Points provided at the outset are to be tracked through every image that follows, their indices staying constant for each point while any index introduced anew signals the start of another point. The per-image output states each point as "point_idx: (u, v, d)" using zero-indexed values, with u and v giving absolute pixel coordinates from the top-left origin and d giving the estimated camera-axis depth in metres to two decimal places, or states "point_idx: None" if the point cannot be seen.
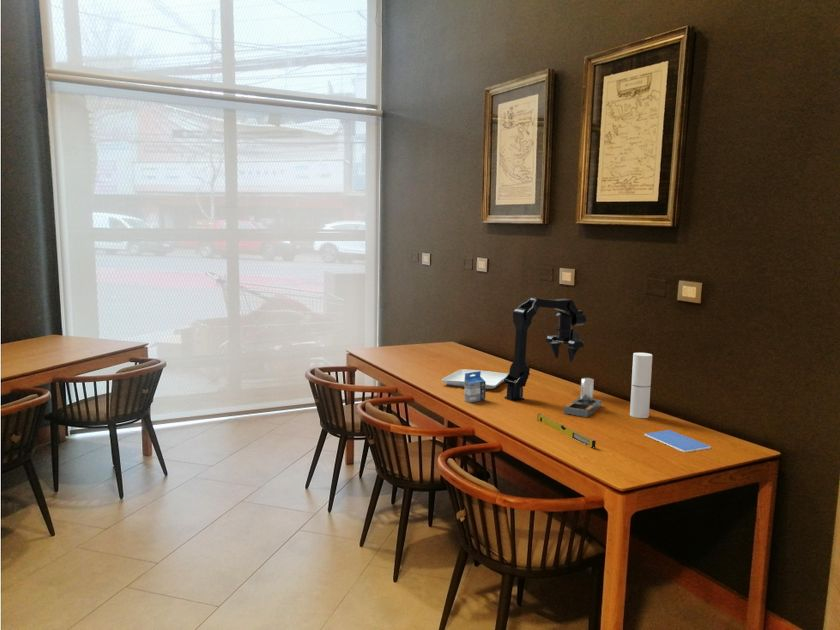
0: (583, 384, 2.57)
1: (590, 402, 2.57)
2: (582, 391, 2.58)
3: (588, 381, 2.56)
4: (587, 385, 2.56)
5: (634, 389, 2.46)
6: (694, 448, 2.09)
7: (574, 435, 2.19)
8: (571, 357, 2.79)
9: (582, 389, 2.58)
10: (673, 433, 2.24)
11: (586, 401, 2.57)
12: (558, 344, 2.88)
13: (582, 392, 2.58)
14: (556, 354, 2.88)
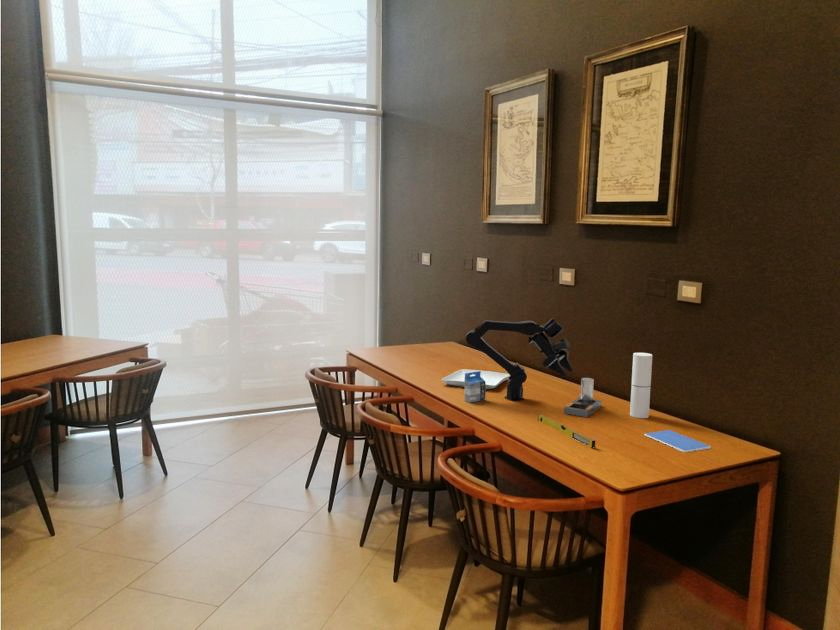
0: (583, 384, 2.57)
1: (590, 402, 2.57)
2: (582, 391, 2.58)
3: (588, 381, 2.56)
4: (587, 385, 2.56)
5: (634, 389, 2.46)
6: (694, 448, 2.09)
7: (574, 435, 2.19)
8: (560, 372, 2.59)
9: (582, 389, 2.58)
10: (673, 433, 2.24)
11: (586, 401, 2.57)
12: (564, 358, 2.68)
13: (582, 392, 2.58)
14: (568, 368, 2.67)
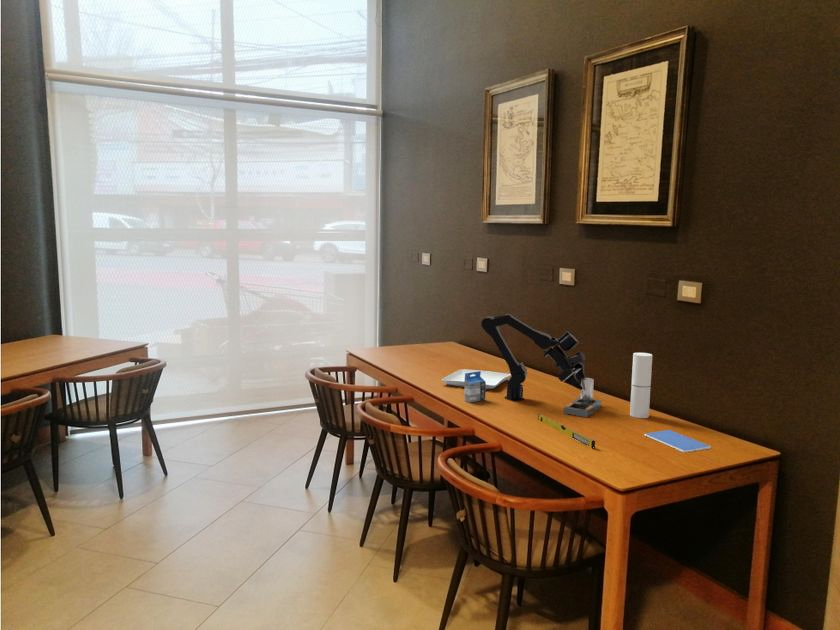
0: (583, 384, 2.57)
1: (590, 402, 2.57)
2: (582, 391, 2.58)
3: (588, 381, 2.56)
4: (587, 385, 2.56)
5: (634, 389, 2.46)
6: (694, 448, 2.09)
7: (574, 435, 2.19)
8: (576, 386, 2.56)
9: (582, 389, 2.58)
10: (673, 433, 2.24)
11: (586, 401, 2.57)
12: (580, 371, 2.65)
13: (582, 392, 2.58)
14: None
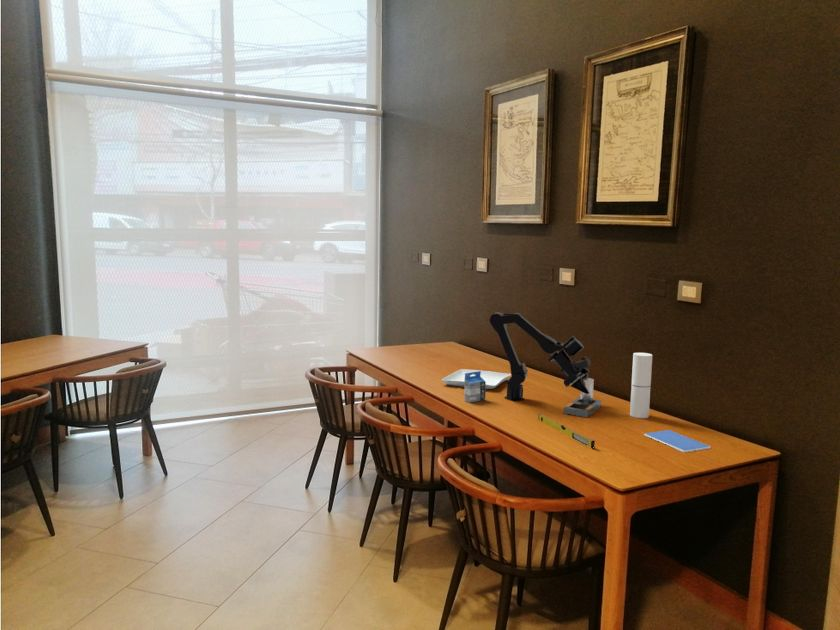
0: None
1: (590, 402, 2.57)
2: None
3: (588, 381, 2.56)
4: (587, 385, 2.56)
5: (634, 389, 2.46)
6: (694, 448, 2.09)
7: (574, 435, 2.19)
8: (583, 390, 2.56)
9: None
10: (673, 433, 2.24)
11: (586, 401, 2.57)
12: (584, 377, 2.62)
13: (582, 392, 2.58)
14: None
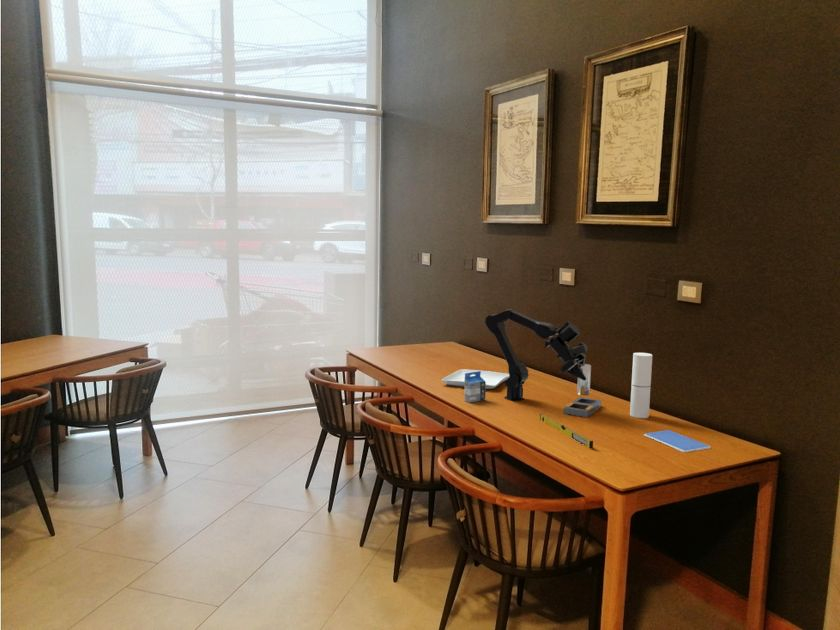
0: None
1: (587, 388, 2.52)
2: None
3: (585, 367, 2.51)
4: (584, 371, 2.51)
5: (634, 389, 2.46)
6: (694, 448, 2.09)
7: (573, 435, 2.19)
8: (580, 376, 2.51)
9: None
10: (672, 433, 2.24)
11: (583, 387, 2.52)
12: (580, 363, 2.57)
13: (579, 378, 2.53)
14: None
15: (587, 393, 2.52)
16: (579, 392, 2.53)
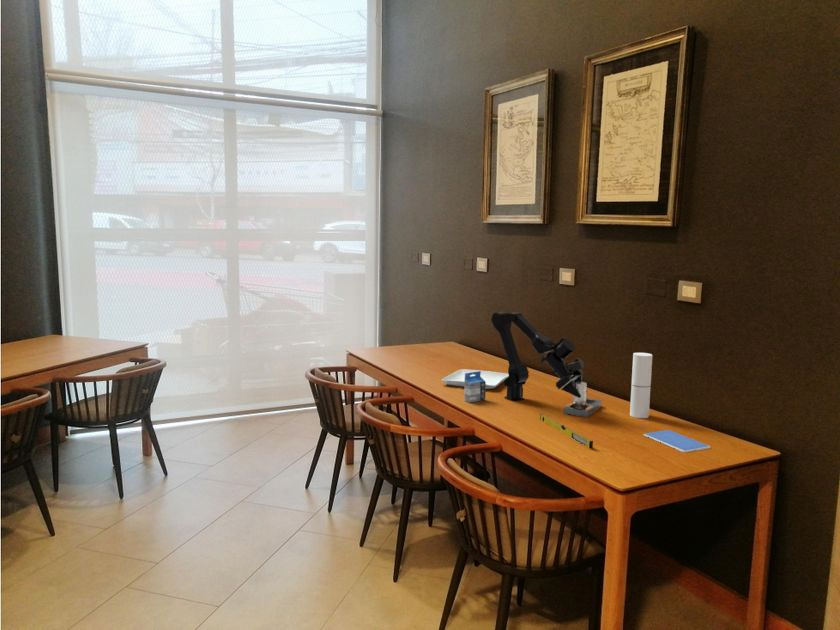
0: (576, 388, 2.49)
1: (583, 407, 2.49)
2: None
3: (581, 385, 2.48)
4: (580, 389, 2.48)
5: (634, 389, 2.46)
6: (694, 448, 2.09)
7: (573, 435, 2.19)
8: (574, 394, 2.47)
9: None
10: (672, 433, 2.24)
11: (579, 406, 2.49)
12: (578, 378, 2.56)
13: (575, 396, 2.50)
14: None
15: None
16: None
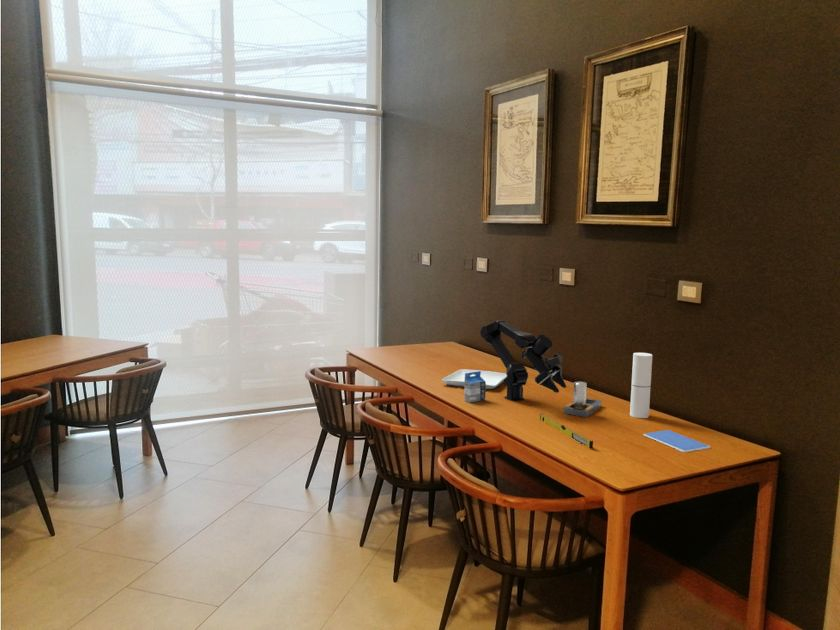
0: (576, 388, 2.49)
1: (583, 407, 2.49)
2: (575, 395, 2.50)
3: (581, 385, 2.48)
4: (580, 389, 2.48)
5: (634, 389, 2.46)
6: (694, 448, 2.09)
7: (573, 435, 2.19)
8: (553, 389, 2.51)
9: (575, 393, 2.50)
10: (672, 433, 2.24)
11: (579, 406, 2.49)
12: (557, 373, 2.60)
13: (575, 396, 2.50)
14: (561, 384, 2.59)
15: None
16: None
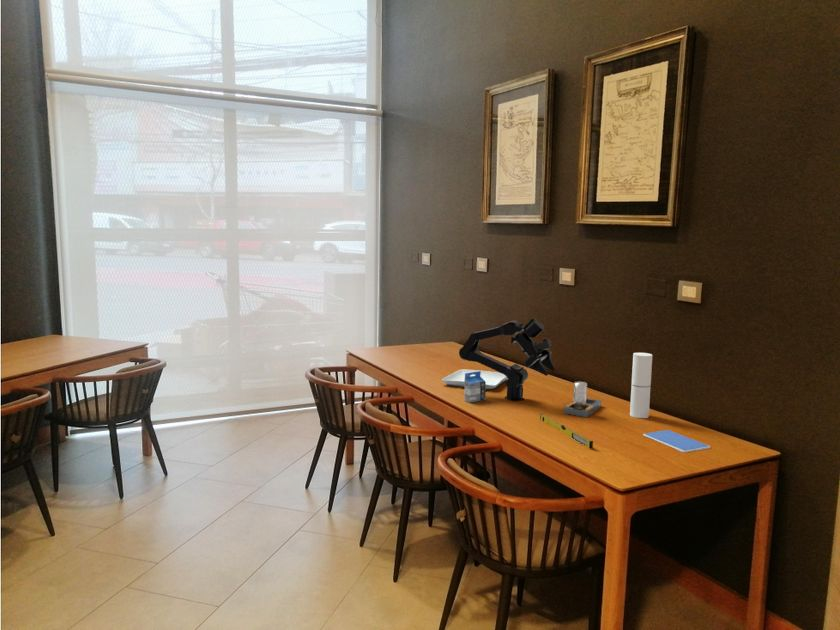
0: (576, 388, 2.49)
1: (583, 407, 2.49)
2: (575, 395, 2.50)
3: (581, 385, 2.48)
4: (580, 389, 2.48)
5: (634, 389, 2.46)
6: (693, 448, 2.09)
7: (573, 435, 2.19)
8: (542, 372, 2.58)
9: (575, 393, 2.50)
10: (672, 433, 2.24)
11: (579, 406, 2.49)
12: (547, 357, 2.67)
13: (575, 396, 2.50)
14: (551, 368, 2.66)
15: None
16: None
